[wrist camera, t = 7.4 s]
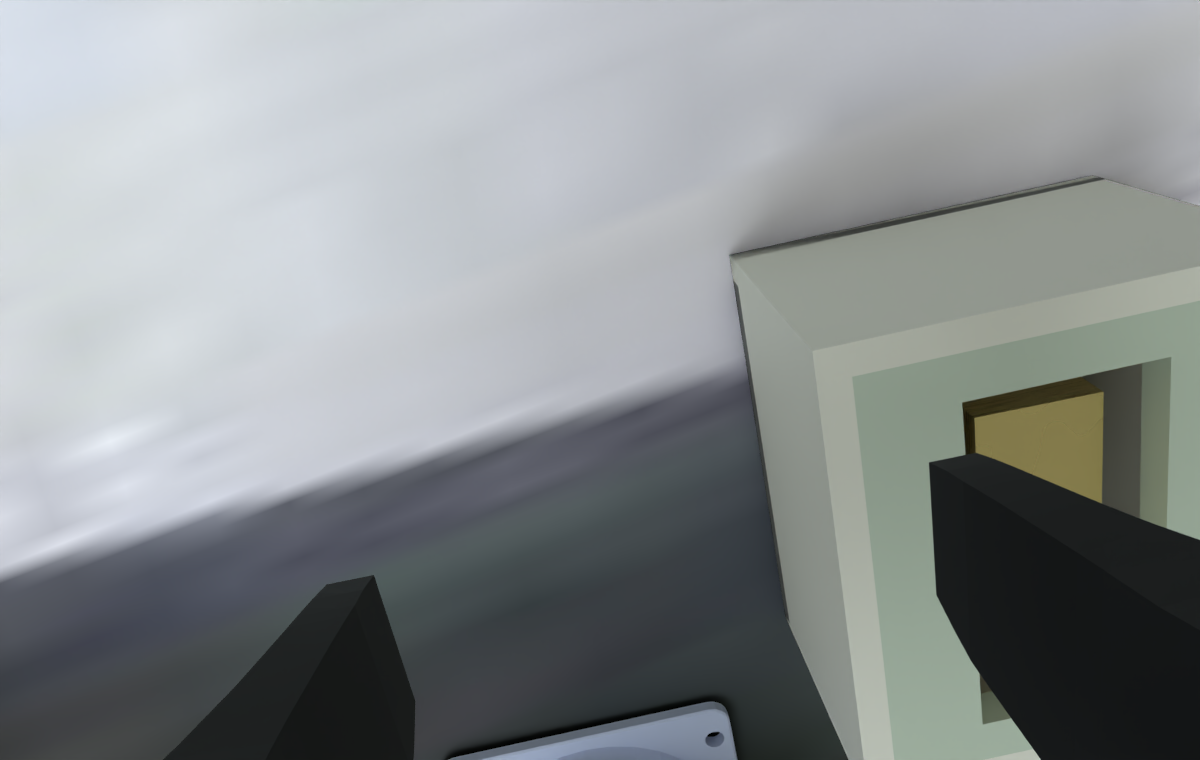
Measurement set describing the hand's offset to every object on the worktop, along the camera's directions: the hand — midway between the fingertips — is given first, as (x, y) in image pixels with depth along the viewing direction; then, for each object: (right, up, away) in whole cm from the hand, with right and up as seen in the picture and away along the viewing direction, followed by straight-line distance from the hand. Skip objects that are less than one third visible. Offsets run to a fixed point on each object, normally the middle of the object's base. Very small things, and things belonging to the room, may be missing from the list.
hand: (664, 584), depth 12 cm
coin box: (+7, +2, +11) cm, 13 cm away
